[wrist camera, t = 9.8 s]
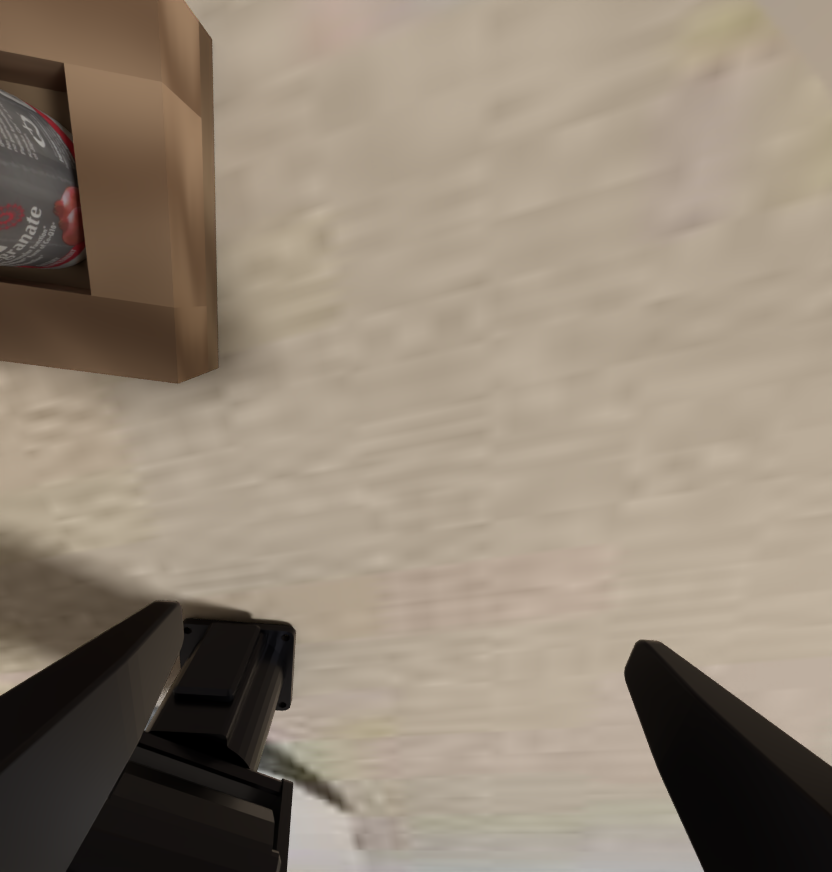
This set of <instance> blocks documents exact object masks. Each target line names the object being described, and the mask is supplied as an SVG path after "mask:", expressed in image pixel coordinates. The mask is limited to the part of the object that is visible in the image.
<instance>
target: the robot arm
mask: <svg viewBox="0 0 832 872" xmlns="http://www.w3.org/2000/svg"><path fill="white" fill-rule="evenodd" d="M188 627H189V628H188ZM285 634H286V635H288V636H286V635H285ZM295 640H296V631H295V629H294V628H293V627H291V626H284V625H271V624H258V623H245V622H232V621H219V620H206V619H193V618H188V619H185V620H184V621H183V614H182V606H181V604H180V603H179V602H175V601H163V600H158V601H155V602H153V603H151V604H149V605H147V606H146V607H144V608H143V609H141V610H139V611H138V612H136V613H134V614H133V615H131V616H129V617H128V618H126V619H125V620H123V621H121V622H120V623H118V624H116V625H115V626H113V627H112V628H110V629H108V630H107V631H105V632H103V633H102V634H100V635H99V636H97V637H95V638H94V639H92V640H90V641H89V642H87V643H85V644H84V645H82V646H81V647H79V648H77V649H76V650H74V651H72V652H71V653H69V654H68V655H66V656H64V657H63V658H61V659H59V660H58V661H56V662H55V663H53V664H51V665H50V666H48V667H46V668H45V669H43V670H41V671H40V672H38V673H37V674H35V675H33V676H32V677H30V678H28V679H27V680H25V681H24V682H22V683H20V684H19V685H17V686H15V687H14V688H12V689H11V690H9V691H7V692H6V693H4V694H2V695H1V696H0V872H287V861H288V847H289V834H290V820H291V806H292V793H293V782H291V781H288V780H285V779H282V780H278V779H275V778H273V777H270V776H267V775H265V774H262V773H259V772H257V769H258V766H259V763H260V759H261V756H262V753H263V749H264V746H265V743H266V739H267V736H268V733H269V729H270V726H271V722H272V719H273V716H274V712H275V710H281V711H283V710H287V709H289V708H290V705H291V701H292V691H293V674H294V657H295ZM179 652H180V664H181V670H180V672H179V674H178V675H177V677H176V679H175V681H174V682H173V684H172V686H171V687H170V689H169V691H168V693H167V694H166V696H165V698H164V699H163V701H162V703H161V704H160V706H159V708H158V710H157V711H156V713H155V715H154V716H153V718H152V720H151V722H150V723H149V725H148V727H147V728H146V730H145V731H144V729H145V727H146V725H147V723H148V720H149V718H150V716H151V714H152V712H153V709H154V707H155V705H156V703H157V701H158V698H159V696H160V694H161V692H162V690H163V687H164V685H165V683H166V681H167V678H168V676H169V674H170V672H171V670H172V667H173V665H174V663H175V661H176V659H177V656H178V654H179ZM624 676H625V681H626V684H627V687H628V690H629V692H630V695H631V698H632V701H633V703H634V706H635V709H636V712H637V714H638V717H639V720H640V723H641V725H642V728H643V731H644V734H645V736H646V739H647V742H648V744H649V747H650V750H651V753H652V755H653V758H654V760H655V763H656V766H657V768H658V770H659V773H660V775H661V777H662V780H663V782H664V784H665V787H666V789H667V791H668V793H669V795H670V797H671V800H672V802H673V804H674V806H675V808H676V811H677V813H678V815H679V817H680V819H681V822H682V824H683V826H684V828H685V830H686V833H687V835H688V837H689V839H690V841H691V844H692V846H693V848H694V850H695V852H696V855H697V857H698V859H699V861H700V863H701V866H702V868H703V870H704V872H832V766H830V765H829V764H827V763H826V762H825V761H823V760H822V759H821V758H819V757H818V756H816V755H815V754H814V753H812V752H811V751H810V750H808V749H807V748H806V747H804V746H803V745H801V744H800V743H799V742H797V741H796V740H795V739H793V738H792V737H790V736H789V735H788V734H786V733H785V732H784V731H782V730H781V729H779V728H778V727H777V726H775V725H774V724H773V723H771V722H770V721H768V720H767V719H766V718H764V717H763V716H762V715H760V714H759V713H758V712H756V711H755V710H753V709H752V708H751V707H749V706H748V705H747V704H745V703H744V702H742V701H741V700H740V699H738V698H737V697H736V696H734V695H733V694H731V693H730V692H729V691H727V690H726V689H725V688H723V687H722V686H721V685H719V684H718V683H716V682H715V681H714V680H712V679H711V678H710V677H708V676H707V675H705V674H704V673H703V672H701V671H700V670H699V669H697V668H696V667H694V666H693V665H692V664H690V663H689V662H688V661H686V660H685V659H684V658H682V657H681V656H679V655H678V654H677V653H675V652H674V651H673V650H671V649H670V648H668V647H667V646H666V645H664V644H663V643H661V642H659V641H654V640H639V641H637V642H636V643H635V645H634V648H633V650H632V652H631V654H630V657H629V659H628V661H627V664H626V666H625V671H624Z"/></svg>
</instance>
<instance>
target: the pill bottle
mask: <svg viewBox="0 0 832 872" xmlns="http://www.w3.org/2000/svg"><path fill="white" fill-rule="evenodd" d="M86 258H87V254H86V245H85V237H84V229H83V220H82V212H81V203H80V195H79V187H78V178H77V170H76V161H75V153H74V145H73V136H72V134H71V133H70V132H69V131H68V130H67V129H66V128H64V127H63V126H62V125H61V124H60V123H59V122H57V121H56V120H54V119H53V118H52V117H50V116H49V115H47V114H45V113H44V112H42V111H40V110H38V109H37V108H35V107H33V106H31V105H29V104H28V103H26V102H24V101H22V100H20V99H19V98H17V97H16V96H13V95H11V94H9V93H7V92H5V91H3V90H1V89H0V266H10V267H24V268H39V269H60V268H66V267H69V266H73V265H75V264H77V263H80V262H81V261H83V260H84V259H86Z"/></svg>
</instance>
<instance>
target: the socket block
mask: <svg viewBox="0 0 832 872" xmlns="http://www.w3.org/2000/svg"><path fill="white" fill-rule="evenodd" d="M0 89H1V90H3V91H5V92H7V93H9V94H11V95H13V96H16V97H17V98H19V99H20V100H22V101H24V102H26V103H28V104H29V105H31V106H33V107H35V108H37V109H38V110H40V111H42V112H44V113H45V114H47V115H49V116H50V117H52V118H53V119H54V120H56V121H57V122H59V123H60V124H61V125H62V126H63V127H64V128H66V129H67V130H68V131H69V132H70V133H71V134H72V136H73V145H74V153H75V161H76V170H77V178H78V187H79V195H80V203H81V212H82V220H83V229H84V237H85V245H86V254H87V258H86V259H84V260H83V261H81V262H80V263H77V264H75V265H73V266H69V267H66V268H60V269H39V268H24V267H10V266H0V361H7V362H15V363H23V364H31V365H38V366H46V367H54V368H62V369H69V370H77V371H85V372H93V373H100V374H108V375H116V376H124V377H131V378H139V379H147V380H155V381H162V382H170V383H181V382H183V381H186V380H189V379H191V378H194V377H196V376H199V375H201V374H204V373H207V372H209V371H212V370H214V369H217V368H218V321H217V269H216V218H215V167H214V115H213V64H212V39H211V37H210V36H209V34H208V33H207V32H206V30H205V29H204V27H203V26H202V25H201V23H200V22H199V20H198V19H197V18H196V16H195V15H194V13H193V12H192V11H191V9H190V8H189V6H188V5H187V4H186V2H185V1H184V0H0Z"/></svg>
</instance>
